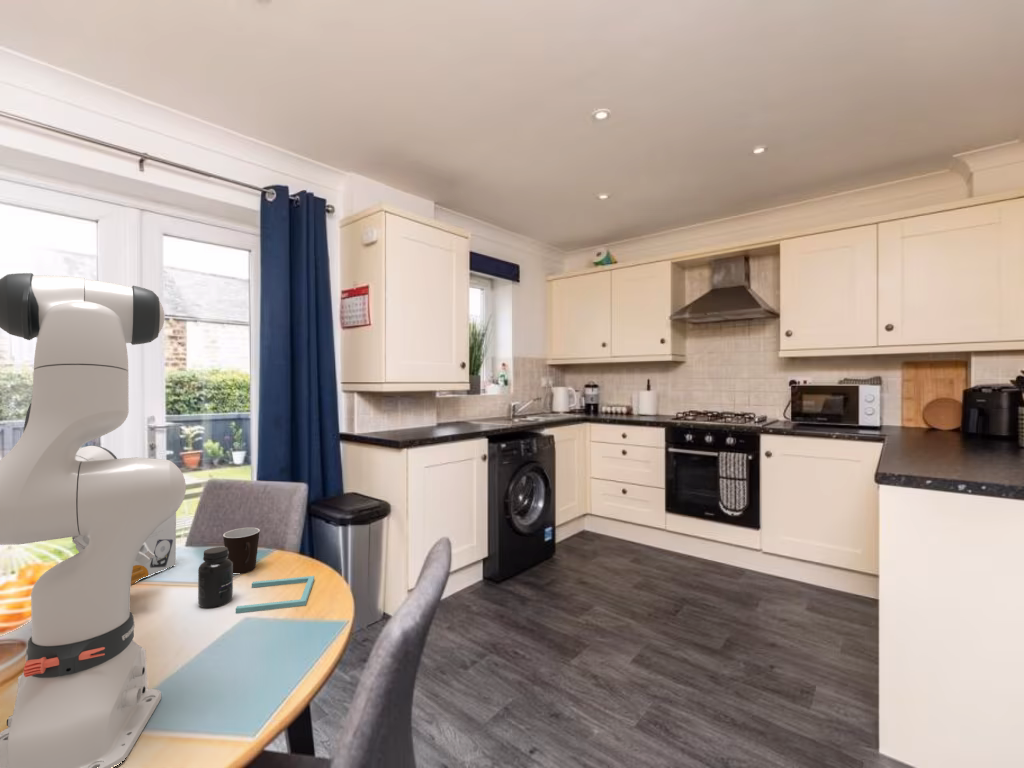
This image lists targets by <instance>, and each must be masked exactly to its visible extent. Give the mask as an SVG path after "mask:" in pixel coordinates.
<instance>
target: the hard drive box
mask: <svg viewBox="0 0 1024 768" xmlns="http://www.w3.org/2000/svg"><path fill="white" fill-rule="evenodd" d="M176 537H177V511H176V512H175V514H174V515H173V516H171V517H170V518H169V519H168V520H166V521H165V522H163V523H162V524H161V525H160V526H159V527H158V528H156V530H155V531H154V532H153V533H152V534H151V535H150V536H149V537H148V538H147V540H146V541H145V543H146V544H147V546H148V548H149V550H150V551H151V552H152V553H153V554H155V557H154V558H152V559H151V560H150V561H149V562H148V563H147V564H145V565H141V564H140V563H138V562H137V561H135V562H134V565H133V570H132V576H131V585H134V583H135V582H136V581H138V580H139V579H141V578H143V577H146V576H148V575H151V574H153V573H156V572H158V571H161V570H164V569H166V568H169V567H171V566H174V565H176V564H177V563H176V554H177V552H176V550H177V548H176V547H177V545H176V544H177V539H176ZM174 567H175V566H174ZM135 584H136V583H135Z"/></svg>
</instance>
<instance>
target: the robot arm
mask: <svg viewBox="0 0 1024 768" xmlns="http://www.w3.org/2000/svg"><path fill="white" fill-rule="evenodd" d="M164 323H165V310H164V307H163V305H162V303H161V302H160V297H159V296H158V295H157V294H156V293H155V292H154V290H150V289H148V288H144V287H141V286H137V285H132V286H129V285H128V286H127V285H124V284H120V283H119V284H118V283H114V282H109V281H101V280H94V279H87V278H86V277H81V276H80V277H79V276H66V275H65V276H64V275H48V274H47V275H45V274H44V275H35V274H33V273H31V272H30V273H27V272H26V273H25V272H24V273H17V272H16V273H9V274H6V275H4V276H3V277H1V278H0V329H2V330H3V331H5V332H6V333H8V335H12V336H15V337H18V338H23V339H24V340H26V341H31V340H33V339H35V338H37V339H36V344H35V348H34V349H35V350H34V359H33V379H32V394H31V402H30V403H29V405H28V408H27V411H26V415H25V420H24V425H23V431H22V434H21V436H20V437H19V439H18V441H17V442H16V444H15V445H14V446H13V447H12V448H11V449H10V451H9V452H7V453H6V454H5V455H4V456H3V457H2V458H1V459H0V545H1V546H4V545H5V546H9V545H11V546H12V545H17V546H18V545H26V544H33V543H38V542H39V543H40V542H46V541H55V540H59V539H65V538H66V539H67V538H71V539H72V543H73V544H74V545H75V549H76V550H77V552H78V553H76V554H74V555H73V556H70V557H68V558H66V559H65V560H63V561H61V562H59V563H57V564H55V565H54V566H52V567H51V568H49V569H48V570H47V571H45V572H44V573H43V574H42V575H40V576H39V578H38V579H37V580H36V582H35V583H34V585H33V587H32V590H31V593H30V594H31V596H30V601H31V602H30V605H31V606H30V608H31V614H30V615H31V618H30V619H31V637H29V639H28V640H27V648H26V650H25V664H24V667H23V672H22V673H21V675H19V676H18V677H17V683H18V688H17V689H18V690H17V692H16V693H17V694H16V699H15V703H14V708H13V713H12V715H10V716H8V718H7V719H6V726H7V728H5V729H3V730H2V731H1V732H0V768H97V767H98V768H111V767H114V765H117V764H119V763H121V762H122V761H124V760H125V761H126V759H127V758H128V756H129V755H130V753H131V751H132V749H133V747H134V746H135V744H136V743H137V740H138V739H139V737H140V735H141V734H142V732H143V730H144V728H145V727H146V726H147V723H148V722H149V720H150V718H151V717H152V714H154V712H155V711H156V708H157V706H158V704H159V703H160V701H161V699H162V692H161V690H160V689H157V688H156V689H155V688H149V685H148V684H149V683H148V666H147V663H148V662H147V652H146V649H145V648H144V647H143V646H141V645H139V644H138V643H136V642H135V641H134V637H135V631H134V630H135V628H136V627H135V620H134V614H133V612H132V611H131V608H130V607H131V600H130V599H131V587H132V586H131V585H132V584H131V576H132V570H133V565H134V562H135V561H137V562H138V563H140V564H141V565H145V564H147V563H148V562H149V561H150V560H151V559H152V558H154V557H155V554H153V553H152V552H151V551H150V550H149V548H148V546H147V544H146V543H145V541H146V540H147V538H148V537H149V536H150V535H151V534H152V533H153V532H154V531H155V530H156V528H158V527H159V526H160V525H161V524H162V523H163V522H165V521H166V520H168V519H169V518H170V517H171V516H173V515H174V514H175V512H176V513H177V512H178V510H179V509H180V507H181V505H182V504H183V502H184V500H185V496H186V489H187V488H186V487H187V486H186V485H187V483H186V479H185V476H184V474H183V472H182V471H181V469H180V468H179V467H178V466H177V464H175V463H174V462H173V461H171V460H169V459H163V458H149V457H126V458H125V457H124V458H118V457H117V455H115V454H114V453H113V452H112V451H111V450H110V449H108V448H106V447H103V446H100V445H91V444H90V445H87V446H84V445H85V444H87V443H89V442H91V441H93V440H96V439H99V438H101V437H102V436H103V437H104V436H105V435H108V434H109V433H111V432H113V431H115V430H117V429H118V428H119V427H121V426H122V425H123V424H124V423H125V422H126V420H127V418H128V415H129V411H130V410H129V405H130V404H129V357H128V349H127V348H128V347H127V344H131V346H134V345H143V344H149V343H152V341H154V340H156V339H157V338H159V334H160V333H161V331H162V329H163V327H164ZM82 446H83V447H82ZM126 757H127V758H126ZM125 758H126V759H125ZM125 761H124V762H125ZM121 764H122V763H121Z"/></svg>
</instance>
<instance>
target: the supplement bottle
mask: <svg viewBox="0 0 1024 768" xmlns="http://www.w3.org/2000/svg"><path fill="white" fill-rule="evenodd" d="M227 557H228V548H227V547H225V546H216V547H211V548H208V549H206V550H204V551H203V558H202V560H203V562H202V563H200V565H199V567H198V571H197V572H198V577H197V578H198V579H197V580H198V583H197V586H198V587H197V589H198V590H197V596H198V597H197V600H198V601H197V602H198V606H199V607H201V608H205V609H209V608H210V609H211V608H212V609H213V608H217V607H221V606H224V605H226V604H228V603H230V602H231V601H232V599H233V596H234V593H233V592H234V582H233V581H234V574H233V562H232V561H231V560H230V559H228V558H227Z"/></svg>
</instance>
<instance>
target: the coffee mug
mask: <svg viewBox="0 0 1024 768" xmlns="http://www.w3.org/2000/svg"><path fill="white" fill-rule="evenodd" d="M260 531H261V529H259V528H258V527H241V528H235V529H231V530H228V531H225V532H224V533H223V535H222V536H223V547H227V548H228V557H227V558H228V559H230V560H231V561H232V562H233V573H240V574H239V575H243V574H247V573H251V572H252V571H254V570H255V569H256V565H257V557H258V549H259V548H258V547H259V540H260V533H261V532H260Z"/></svg>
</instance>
